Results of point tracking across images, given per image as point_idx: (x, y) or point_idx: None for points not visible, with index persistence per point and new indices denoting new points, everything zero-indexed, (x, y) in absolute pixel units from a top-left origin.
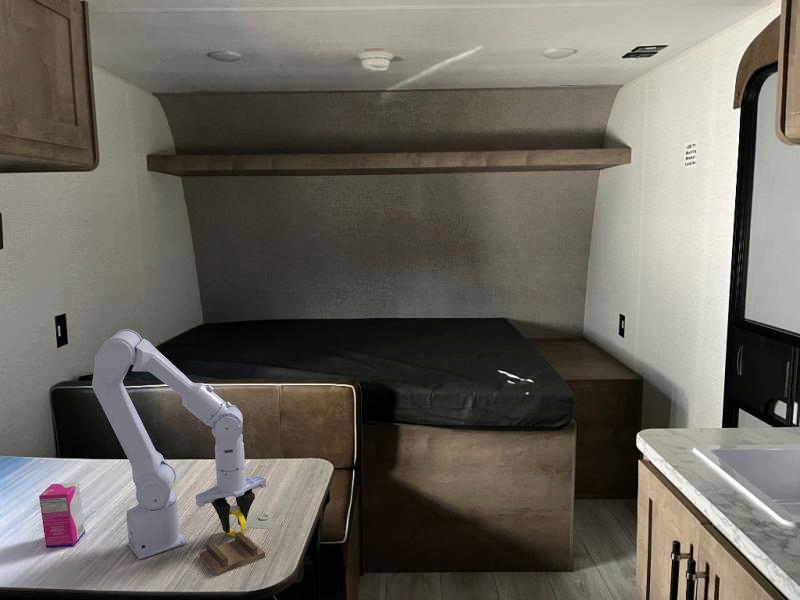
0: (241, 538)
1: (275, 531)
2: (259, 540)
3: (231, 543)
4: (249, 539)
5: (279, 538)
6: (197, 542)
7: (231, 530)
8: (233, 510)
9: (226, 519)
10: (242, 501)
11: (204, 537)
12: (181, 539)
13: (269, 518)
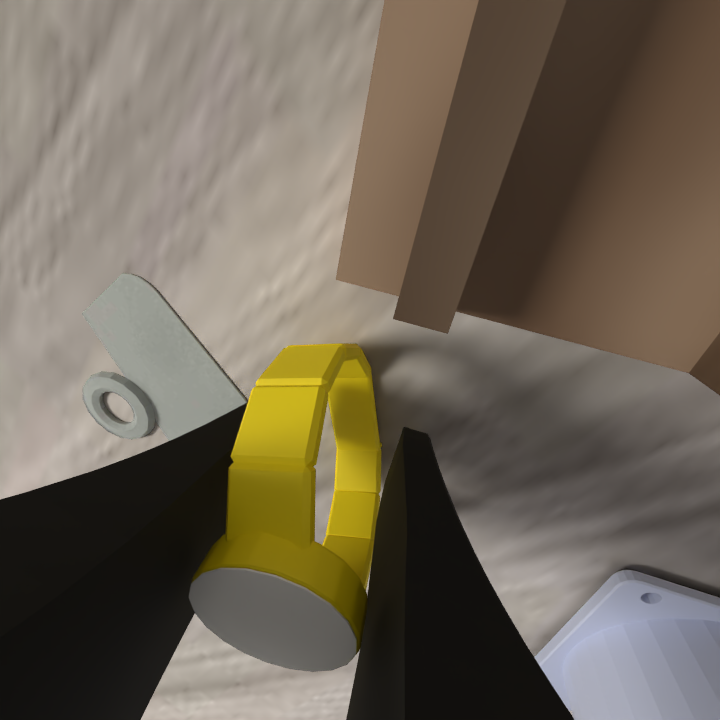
0: (504, 153)
1: (122, 200)
2: (278, 186)
3: (517, 289)
4: (359, 205)
5: (134, 52)
6: (563, 527)
7: (344, 453)
8: (296, 598)
9: (445, 540)
10: (62, 670)
11: (490, 529)
12: (620, 613)
13: (99, 374)
